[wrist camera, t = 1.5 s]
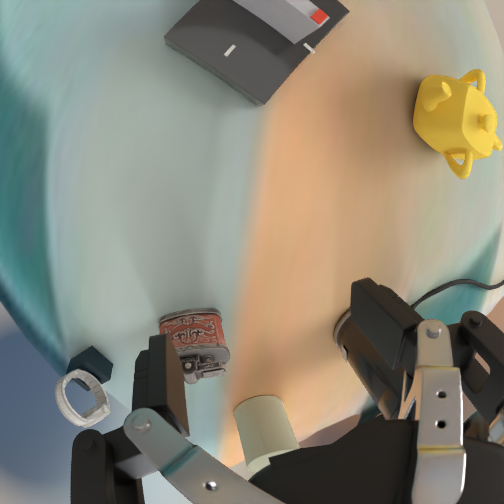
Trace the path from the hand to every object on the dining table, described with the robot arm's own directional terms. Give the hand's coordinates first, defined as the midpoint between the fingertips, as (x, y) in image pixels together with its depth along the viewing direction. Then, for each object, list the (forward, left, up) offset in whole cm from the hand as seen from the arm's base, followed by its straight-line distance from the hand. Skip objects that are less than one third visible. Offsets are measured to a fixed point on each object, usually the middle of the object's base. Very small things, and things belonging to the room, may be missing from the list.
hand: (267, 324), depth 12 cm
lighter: (+1, +15, -21) cm, 26 cm away
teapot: (-26, -19, -21) cm, 38 cm away
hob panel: (0, -21, -21) cm, 29 cm away
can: (-13, +35, -21) cm, 43 cm away
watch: (+15, +25, -21) cm, 36 cm away
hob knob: (0, -21, -18) cm, 27 cm away
